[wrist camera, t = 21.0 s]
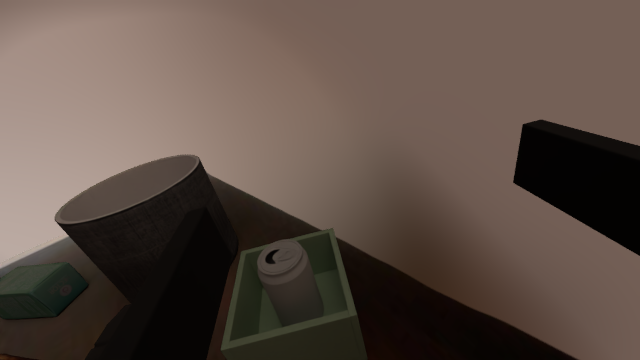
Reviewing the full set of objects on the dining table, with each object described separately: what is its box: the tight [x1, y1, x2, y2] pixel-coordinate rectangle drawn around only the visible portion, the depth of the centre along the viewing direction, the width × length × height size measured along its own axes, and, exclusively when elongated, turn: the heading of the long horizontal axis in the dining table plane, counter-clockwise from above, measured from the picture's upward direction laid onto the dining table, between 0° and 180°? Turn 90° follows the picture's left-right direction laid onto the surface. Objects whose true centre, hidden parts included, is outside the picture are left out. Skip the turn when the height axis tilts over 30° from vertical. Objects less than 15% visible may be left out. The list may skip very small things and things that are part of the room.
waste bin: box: [221, 228, 368, 360], centre depth 35 cm, size 15×15×9 cm
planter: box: [55, 155, 238, 304], centre depth 48 cm, size 22×22×20 cm
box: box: [0, 262, 88, 319], centre depth 50 cm, size 7×14×8 cm, turn 85°
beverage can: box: [257, 239, 324, 327], centre depth 33 cm, size 6×6×12 cm
